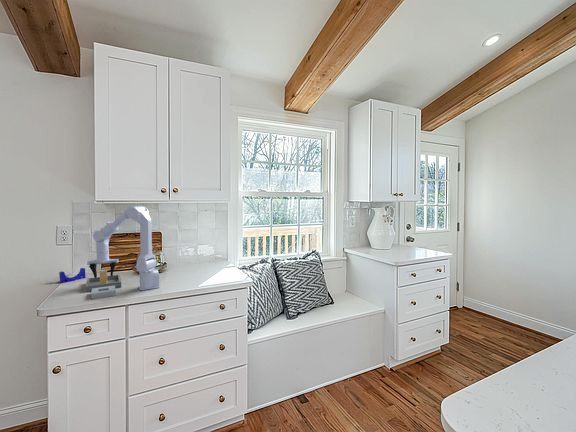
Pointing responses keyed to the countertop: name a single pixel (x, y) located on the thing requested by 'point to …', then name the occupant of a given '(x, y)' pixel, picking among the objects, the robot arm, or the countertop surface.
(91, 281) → the tray
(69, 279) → the cable clip
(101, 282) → the fuse
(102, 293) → the fuse holder
